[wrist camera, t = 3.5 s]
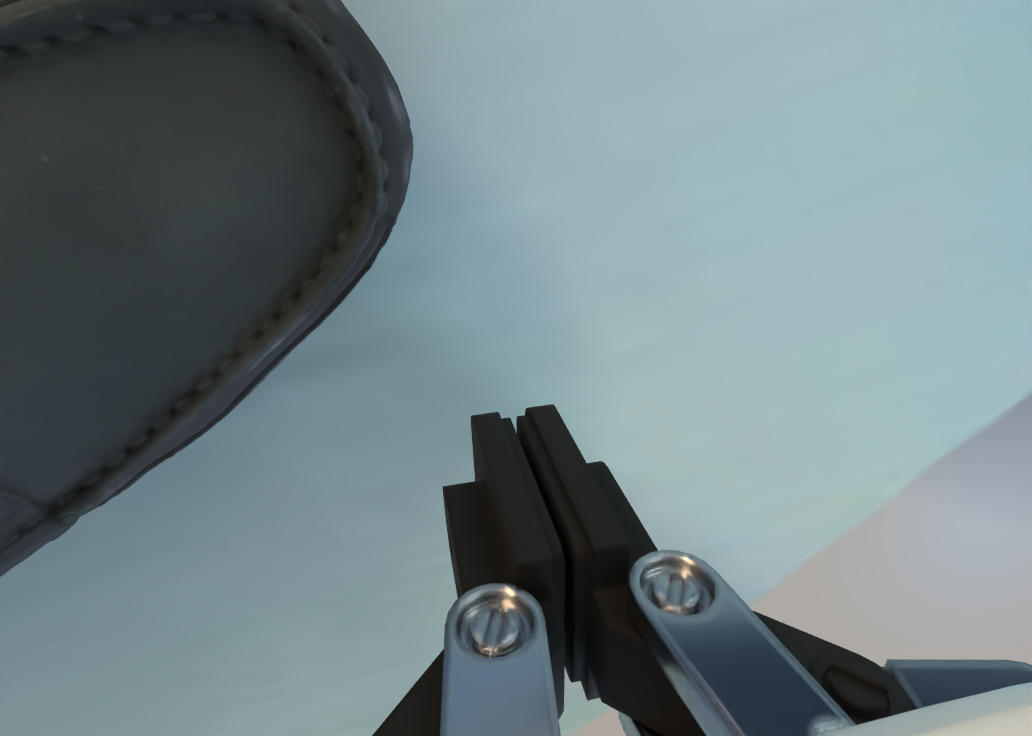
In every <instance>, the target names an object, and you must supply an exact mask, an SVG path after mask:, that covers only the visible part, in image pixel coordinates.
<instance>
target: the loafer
mask: <svg viewBox="0 0 1032 736" xmlns="http://www.w3.org/2000/svg"><path fill="white" fill-rule="evenodd" d="M412 141H413V137H412V133H411V129H410V120H409V117H408V114H407V111H406V108H405V105H404V103H403V100H402V97H401V94H400V91H399V88H398V85H397V83H396V81H395V80H394V78H393V76H392V74H391V72H390V70H389V69H388V67H387V65H386V63H385V61H384V59H383V58H382V56H381V55H380V53H379V52H378V50H377V49H376V48H375V46H374V45H373V43H372V42H371V40H370V39H369V38H368V36H367V35H366V34H365V32H364V31H363V29H362V28H361V27H360V25H359V24H358V23H357V21H356V20H355V19H354V17H353V16H352V15H351V14H350V13H349V11H348V10H347V9H346V7H345V6H344V5H343V3H342V2H341V1H340V0H0V577H1V576H2V575H4V574H5V573H6V572H7V571H9V570H10V569H11V568H13V567H14V566H16V565H17V564H19V563H20V562H22V561H23V560H25V559H26V558H28V557H29V556H30V555H32V554H33V553H34V552H35V551H37V550H38V549H40V548H41V547H42V546H44V545H45V544H47V543H48V542H50V541H52V540H55V539H56V538H58V537H59V536H61V535H62V534H63V533H65V532H66V531H67V530H68V529H69V528H70V527H71V526H73V525H74V524H75V523H76V521H77V520H78V519H79V517H80V516H82V515H84V514H86V513H88V512H89V511H91V510H93V509H95V508H97V507H99V506H101V505H103V504H105V503H106V502H107V501H108V500H110V499H111V498H113V497H115V496H116V495H118V494H120V493H121V492H122V491H124V490H125V489H127V488H128V487H130V486H131V485H132V484H133V483H135V482H136V481H137V480H138V479H140V478H141V477H142V476H143V475H145V474H146V473H147V472H148V471H150V470H151V469H153V468H154V467H156V466H157V465H159V464H160V463H162V462H163V461H165V460H166V459H168V458H170V457H172V456H174V455H175V454H176V453H177V452H179V451H180V450H182V449H183V448H185V447H186V446H188V445H189V444H191V443H192V442H193V441H195V440H196V439H197V438H199V437H200V436H201V435H203V434H204V433H205V432H207V431H208V430H209V429H211V428H212V427H213V426H214V425H215V424H216V423H218V422H219V421H220V420H222V419H223V418H224V417H225V416H226V415H228V414H229V413H230V412H231V411H232V410H233V409H234V408H235V407H236V406H237V405H238V404H239V403H240V402H241V401H242V400H243V399H244V398H245V397H247V396H248V395H249V394H250V393H251V392H252V391H253V390H254V389H255V388H256V387H257V386H258V385H259V384H260V383H261V382H262V381H263V380H264V379H265V378H266V376H267V375H268V374H269V373H270V372H271V371H272V370H273V369H274V368H275V367H277V366H278V365H279V364H280V363H281V362H282V361H283V360H284V359H285V358H286V356H287V355H288V354H289V353H290V352H291V351H292V350H293V349H294V348H295V347H296V346H297V345H298V344H299V343H301V342H302V341H303V340H304V339H305V338H306V337H307V336H308V335H309V334H310V333H311V332H312V331H314V330H315V329H316V328H318V327H319V326H320V324H321V323H322V322H323V321H324V320H325V319H326V318H327V317H328V316H329V315H330V314H331V313H332V312H333V311H334V310H335V309H336V308H337V307H338V306H339V304H340V303H341V302H342V301H343V300H344V299H345V298H346V297H347V295H348V294H349V293H350V292H351V291H352V289H353V288H354V287H355V286H356V284H357V283H358V282H359V281H360V279H361V278H362V277H363V276H364V274H365V273H366V272H367V271H368V270H369V269H370V268H371V266H372V264H373V263H374V261H375V259H376V257H377V255H378V253H379V251H380V250H381V248H382V247H383V246H384V245H385V243H386V242H387V240H388V238H389V235H390V233H391V231H392V228H393V226H394V225H395V224H396V220H397V217H398V214H399V212H400V210H401V207H402V205H403V203H404V200H405V196H406V192H407V187H408V183H409V177H410V170H411V163H412V158H413V142H412Z"/></svg>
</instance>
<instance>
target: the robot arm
mask: <svg viewBox="0 0 1032 736" xmlns="http://www.w3.org/2000/svg"><path fill="white" fill-rule="evenodd" d="M471 429H472V443H473V456H474V470H475V482H469V483H462V484H456V485H450V486H444V487H443V496H444V506H445V515H446V524H447V532H448V539H449V547H450V553H451V560H452V566H453V572H454V578H455V584H456V590H457V596H458V599H457V600H456V601H455V603H454V604H453V606H452V607H451V609H450V611H449V612H448V615H447V620H446V624H445V637H444V649H443V651H442V652H441V653H440V654H439V655H438V657H437V658H436V659H435V660H434V661H433V663H432V664H431V665H430V666H429V668H428V669H427V670H426V671H425V672H424V674H423V675H422V676H421V677H420V678H419V680H418V681H417V682H416V683H415V685H414V686H413V687H412V688H411V689H410V691H409V692H408V693H407V694H406V695H405V697H404V698H403V699H402V700H401V702H400V703H399V704H398V705H397V706H396V708H395V709H394V710H393V711H392V712H391V714H390V715H389V716H388V717H387V718H386V720H385V721H384V722H383V723H382V725H381V726H380V727H379V728H378V729H377V731H376V732H375V733H374V734H373V735H372V736H561V734H560V727H559V718H560V717H561V715H562V713H563V711H564V668H566V671H567V674H568V677H569V679H570V681H571V682H577V681H581V683H582V686H583V689H584V692H585V695H586V698H587V700H591V699H596V698H601V701H602V702H603V703H605V704H607V705H609V706H610V707H612V708H614V709H616V710H618V712H619V719H620V722H621V724H622V727H623V730H624V731H625V733H626V735H627V736H1032V665H1030V664H1027V663H1023V662H1017V661H1010V660H887V662H886V664H885V667H880V666H879V665H877V664H876V663H874V662H872V661H870V660H869V659H867V658H865V657H863V656H861V655H859V654H856V653H854V652H851V651H849V650H847V649H844V648H842V647H840V646H837V645H835V644H832V643H830V642H827V641H825V640H823V639H820V638H818V637H815V636H813V635H811V634H808V633H806V632H803V631H801V630H798V629H796V628H793V627H791V626H789V625H786V624H784V623H781V622H779V621H777V620H774V619H772V618H769V617H767V616H764V615H762V614H760V613H757V612H755V611H752V610H751V609H750V608H749V607H748V606H747V604H746V603H745V602H744V601H743V600H742V599H741V598H740V597H739V596H738V595H737V593H736V592H735V591H734V590H733V589H732V588H731V587H730V586H729V585H728V584H727V583H726V581H725V580H724V579H723V578H722V577H721V576H720V575H719V574H718V573H717V572H716V570H714V569H713V568H712V567H711V566H710V565H708V564H707V563H706V562H705V561H703V560H701V559H699V558H697V557H695V556H694V555H691V554H688V553H684V552H681V551H674V550H661V551H658V550H657V548H656V547H655V545H654V543H653V542H652V540H651V538H650V537H649V535H648V533H647V532H646V530H645V528H644V527H643V525H642V523H641V522H640V520H639V518H638V517H637V515H636V513H635V512H634V510H633V508H632V507H631V505H630V503H629V502H628V500H627V498H626V497H625V495H624V493H623V492H622V490H621V488H620V487H619V485H618V483H617V482H616V480H615V479H614V477H613V475H612V474H611V472H610V470H609V469H608V467H607V466H606V464H605V463H604V462H601V461H599V462H593V463H586V461H585V460H584V458H583V456H582V454H581V452H580V450H579V449H578V447H577V445H576V443H575V441H574V440H573V438H572V436H571V434H570V432H569V431H568V429H567V427H566V425H565V423H564V422H563V420H562V418H561V416H560V414H559V413H558V411H557V409H556V407H555V406H554V405H544V406H537V407H530V408H526V411H525V415H524V416H518V417H517V433H516V431H515V428H514V426H513V424H512V421H511V419H510V418H503V419H501V416H500V414H499V412H494V413H487V414H480V415H473V416H471Z"/></svg>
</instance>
